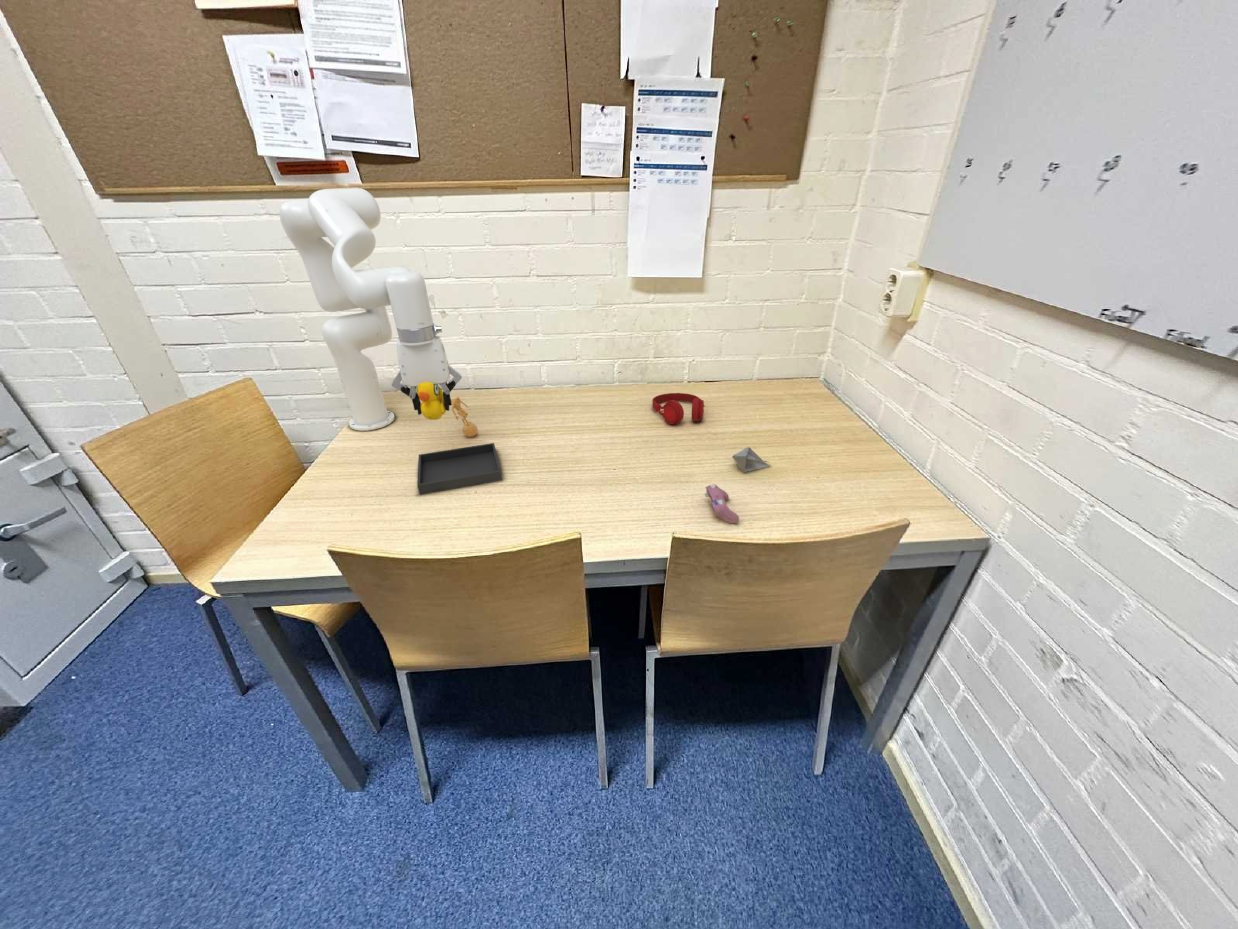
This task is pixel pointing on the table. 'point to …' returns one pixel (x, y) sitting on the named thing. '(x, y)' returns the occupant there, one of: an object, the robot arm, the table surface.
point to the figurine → (469, 427)
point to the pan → (458, 468)
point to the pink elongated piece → (721, 503)
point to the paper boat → (748, 460)
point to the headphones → (678, 407)
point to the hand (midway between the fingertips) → (433, 409)
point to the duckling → (431, 400)
